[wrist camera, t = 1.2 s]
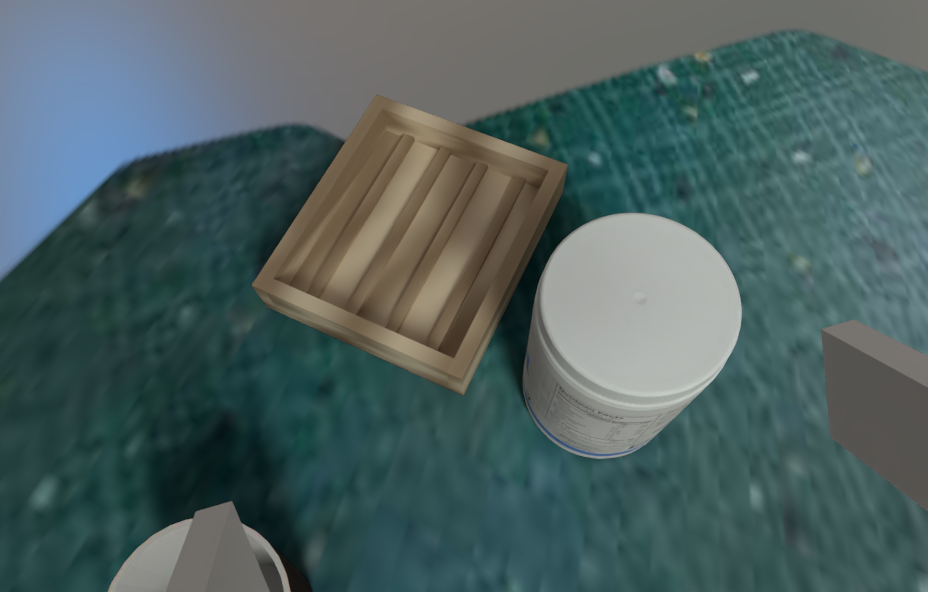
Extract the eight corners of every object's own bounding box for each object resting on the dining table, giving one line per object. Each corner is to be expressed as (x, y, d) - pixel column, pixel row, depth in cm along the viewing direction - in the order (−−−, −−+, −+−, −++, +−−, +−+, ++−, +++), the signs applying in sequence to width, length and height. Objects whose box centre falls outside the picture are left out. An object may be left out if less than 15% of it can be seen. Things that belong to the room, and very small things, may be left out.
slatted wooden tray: (266, 307, 49) (251, 285, 45) (382, 124, 55) (376, 94, 51) (463, 395, 46) (461, 379, 42) (562, 192, 52) (567, 164, 48)
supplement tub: (540, 305, 48) (562, 185, 35) (679, 339, 47) (758, 228, 33) (504, 441, 44) (513, 366, 31) (655, 482, 43) (732, 422, 30)
